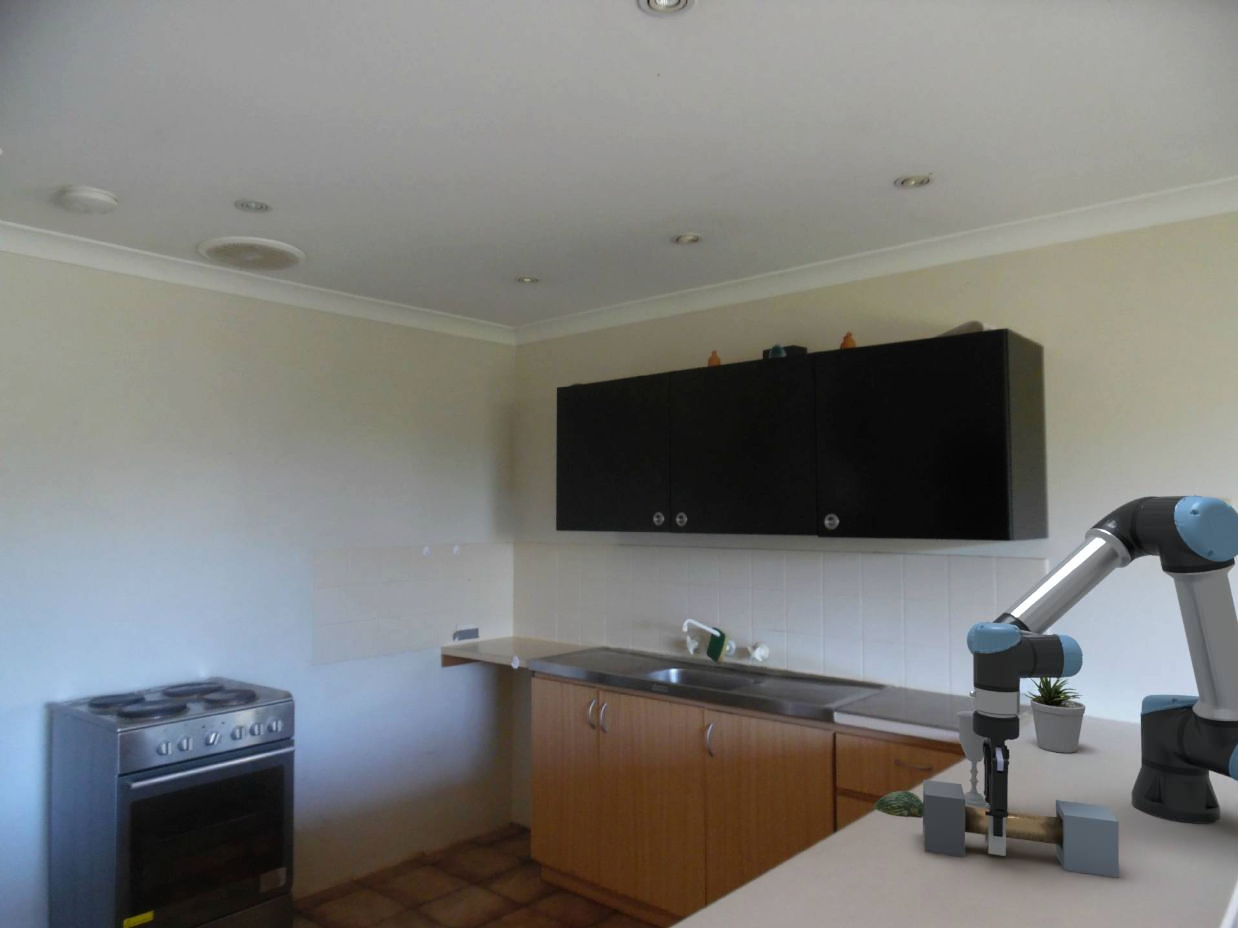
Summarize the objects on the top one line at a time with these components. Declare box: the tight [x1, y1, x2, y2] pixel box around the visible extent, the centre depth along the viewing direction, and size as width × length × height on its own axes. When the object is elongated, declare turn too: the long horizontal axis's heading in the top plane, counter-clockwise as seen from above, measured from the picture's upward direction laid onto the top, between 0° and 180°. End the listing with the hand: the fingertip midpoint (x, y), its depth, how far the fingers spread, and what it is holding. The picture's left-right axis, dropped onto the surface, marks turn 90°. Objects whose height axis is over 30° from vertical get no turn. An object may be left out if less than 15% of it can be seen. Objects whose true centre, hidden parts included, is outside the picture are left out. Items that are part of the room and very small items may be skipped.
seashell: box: [873, 790, 923, 818], centre depth 171 cm, size 10×4×10 cm
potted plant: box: [1024, 678, 1086, 754], centre depth 221 cm, size 13×14×20 cm
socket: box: [922, 779, 966, 858], centre depth 153 cm, size 6×9×10 cm
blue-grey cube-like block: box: [1055, 799, 1120, 879], centre depth 147 cm, size 8×8×9 cm
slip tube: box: [965, 806, 1063, 845], centre depth 150 cm, size 22×4×4 cm, turn 73°
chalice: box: [956, 710, 987, 808], centre depth 175 cm, size 7×7×18 cm
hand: (995, 847), depth 151 cm, fingers closed on slip tube, 4 cm apart
